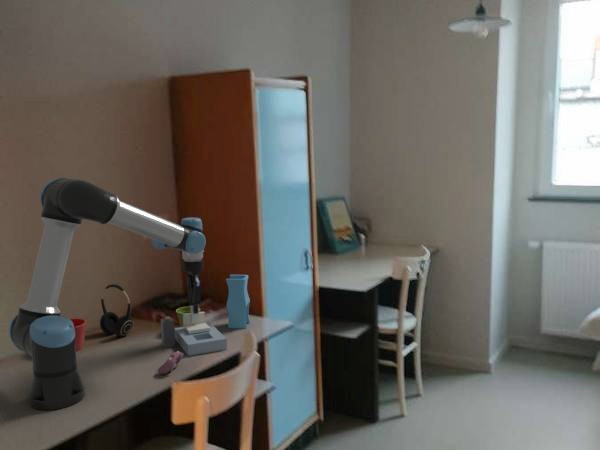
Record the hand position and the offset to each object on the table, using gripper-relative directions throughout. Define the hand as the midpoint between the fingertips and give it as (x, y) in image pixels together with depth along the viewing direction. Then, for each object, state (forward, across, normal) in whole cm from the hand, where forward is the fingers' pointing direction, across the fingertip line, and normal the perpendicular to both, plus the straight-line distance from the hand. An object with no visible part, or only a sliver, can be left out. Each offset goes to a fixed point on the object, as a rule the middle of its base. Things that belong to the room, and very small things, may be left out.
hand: (195, 321), depth 218 cm
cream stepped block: (+3, -2, 0) cm, 3 cm away
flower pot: (+7, +10, +43) cm, 45 cm away
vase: (+7, +8, -20) cm, 23 cm away
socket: (+7, -6, 0) cm, 9 cm away
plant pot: (+7, +10, 0) cm, 12 cm away
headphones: (+7, +18, +26) cm, 32 cm away
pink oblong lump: (+7, -25, +15) cm, 30 cm away
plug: (+7, -3, +11) cm, 13 cm away
